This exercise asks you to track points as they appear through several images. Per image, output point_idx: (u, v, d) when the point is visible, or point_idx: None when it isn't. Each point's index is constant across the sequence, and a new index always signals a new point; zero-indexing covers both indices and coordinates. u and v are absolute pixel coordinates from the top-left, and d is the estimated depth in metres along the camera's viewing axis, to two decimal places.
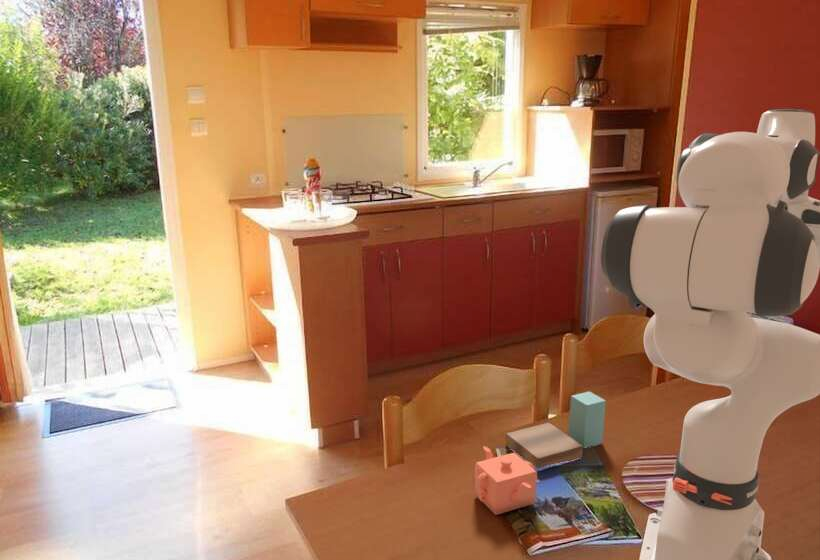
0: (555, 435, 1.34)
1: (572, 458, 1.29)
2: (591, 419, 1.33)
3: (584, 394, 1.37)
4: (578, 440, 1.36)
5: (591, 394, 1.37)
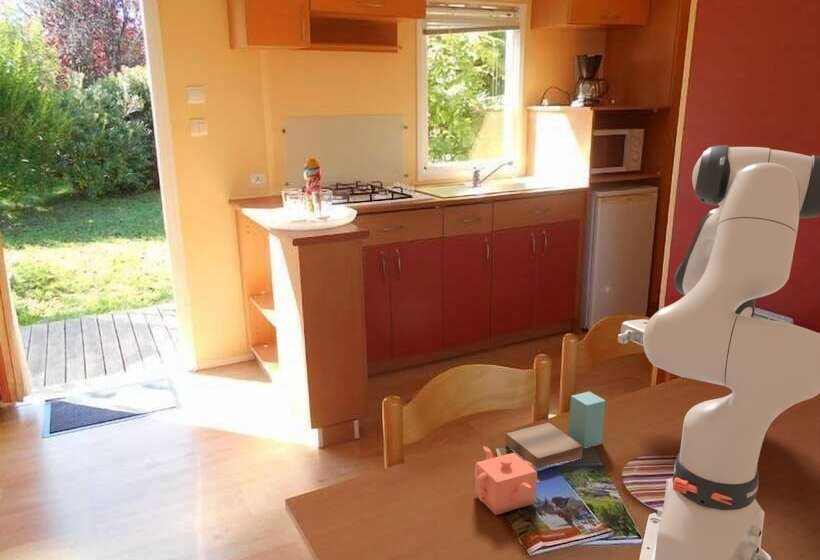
0: (555, 435, 1.34)
1: (572, 458, 1.29)
2: (591, 419, 1.33)
3: (584, 394, 1.37)
4: (578, 440, 1.36)
5: (591, 394, 1.37)
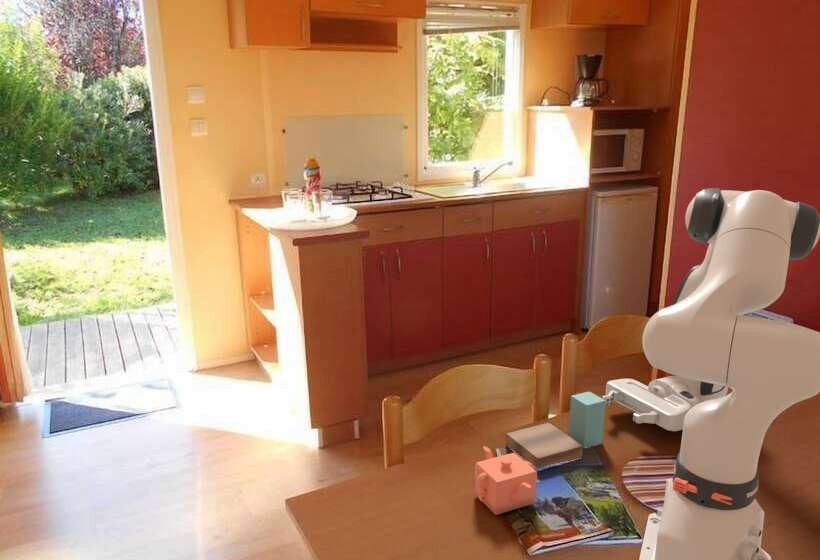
0: (555, 435, 1.34)
1: (572, 458, 1.29)
2: (591, 419, 1.33)
3: (584, 394, 1.37)
4: (578, 440, 1.36)
5: (591, 394, 1.37)
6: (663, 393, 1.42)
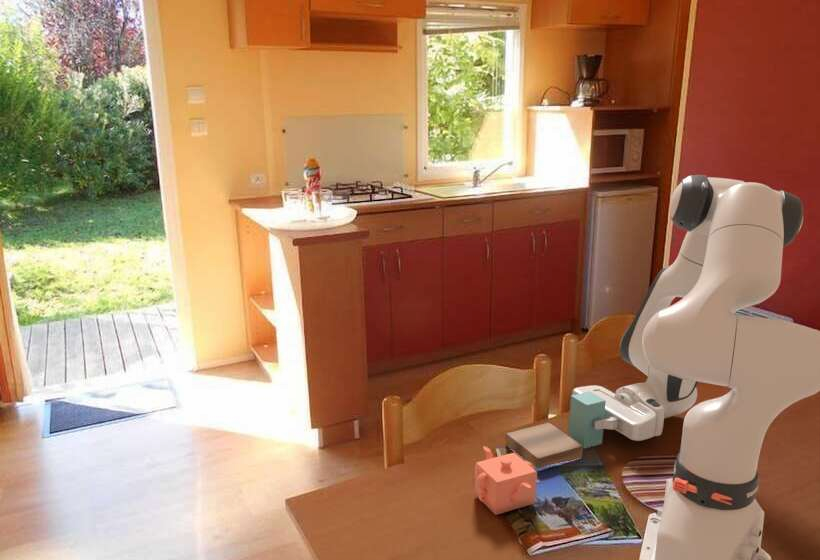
0: (555, 435, 1.34)
1: (572, 458, 1.29)
2: (591, 419, 1.33)
3: (584, 394, 1.37)
4: (578, 440, 1.36)
5: (591, 394, 1.37)
6: (629, 401, 1.38)
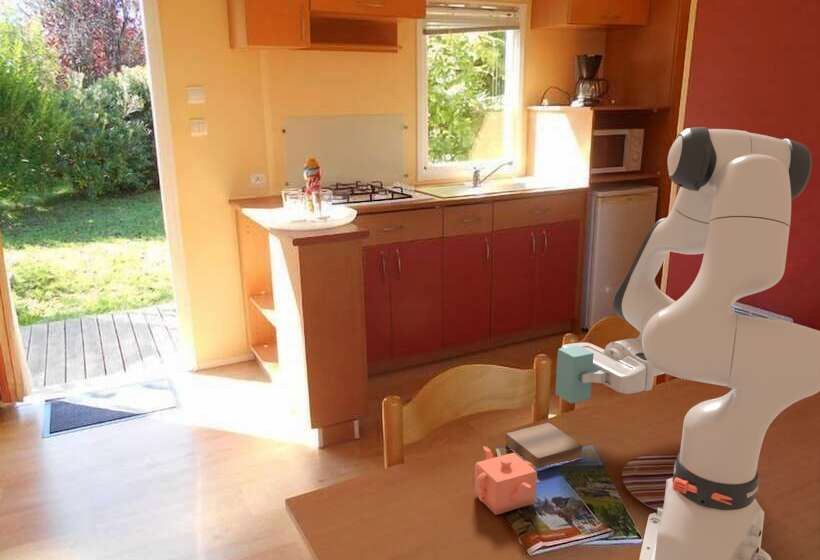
0: (555, 435, 1.34)
1: (572, 458, 1.29)
2: (578, 372, 1.29)
3: (572, 347, 1.32)
4: (565, 395, 1.31)
5: (579, 347, 1.32)
6: (619, 355, 1.33)
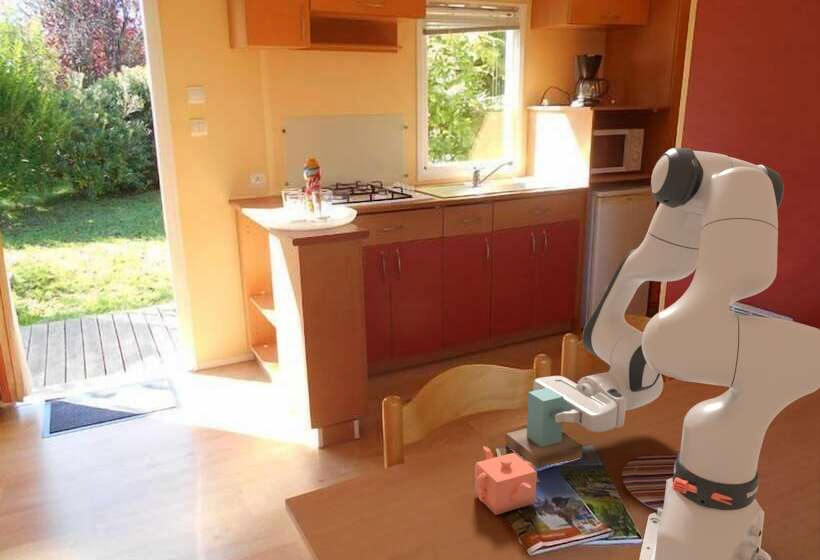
0: None
1: (572, 458, 1.29)
2: (549, 416, 1.28)
3: (542, 390, 1.32)
4: (536, 439, 1.30)
5: (549, 390, 1.32)
6: (591, 391, 1.32)
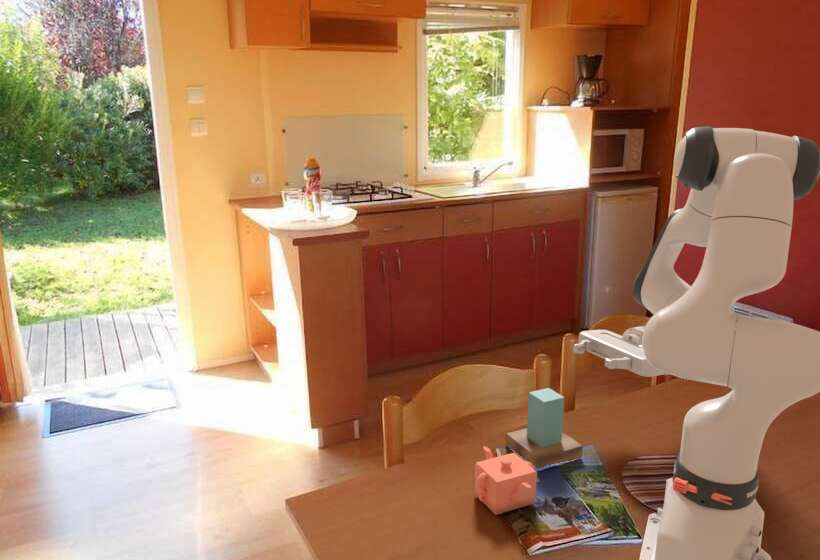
0: None
1: (572, 458, 1.29)
2: (549, 417, 1.28)
3: (543, 391, 1.31)
4: (536, 439, 1.30)
5: (550, 391, 1.31)
6: (638, 340, 1.35)
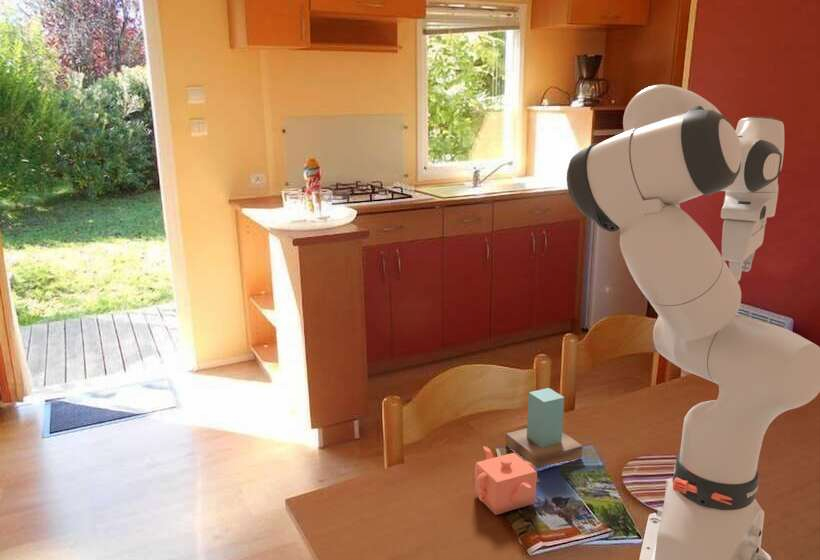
0: None
1: (572, 458, 1.29)
2: (549, 417, 1.28)
3: (543, 391, 1.31)
4: (536, 439, 1.30)
5: (550, 391, 1.31)
6: None
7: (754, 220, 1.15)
